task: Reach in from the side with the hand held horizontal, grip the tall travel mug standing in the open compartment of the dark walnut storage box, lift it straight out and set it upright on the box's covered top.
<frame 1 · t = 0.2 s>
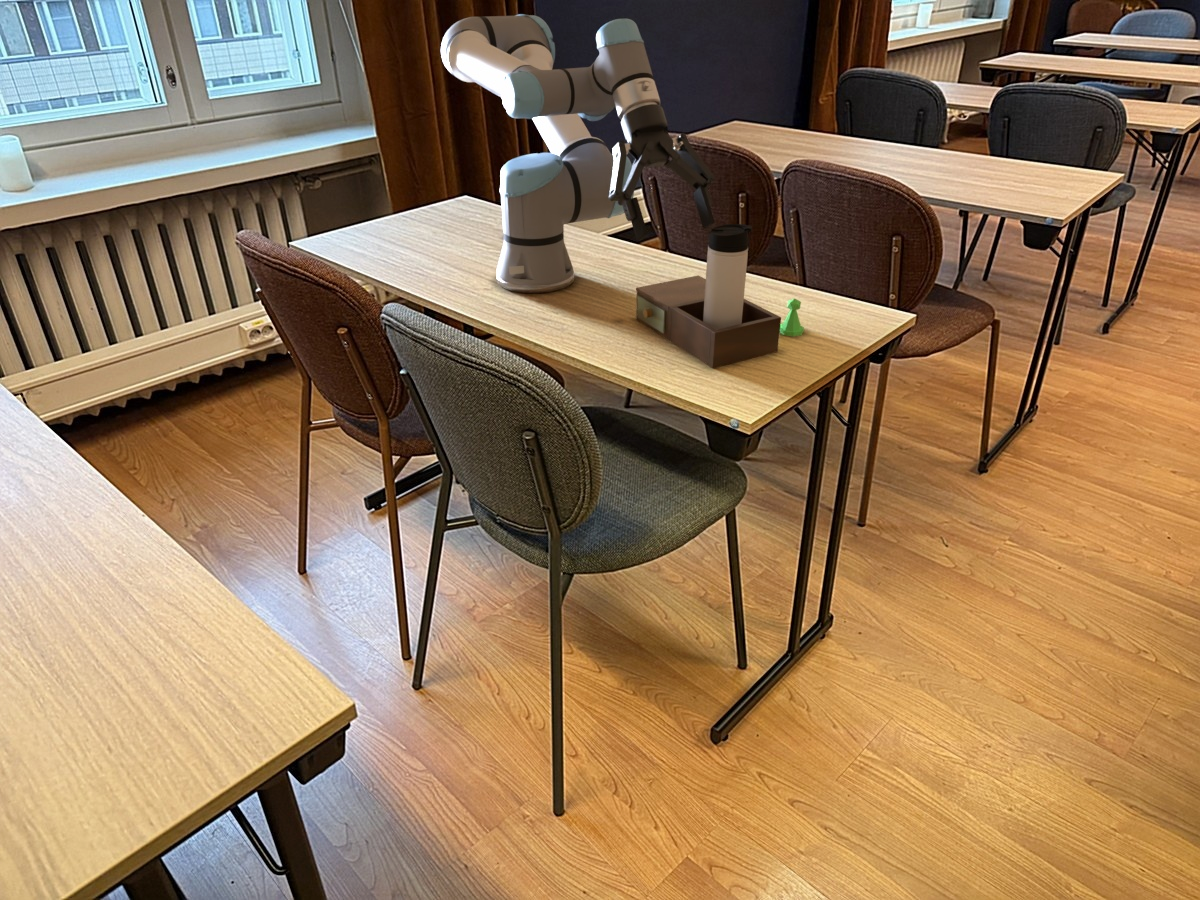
hand: (676, 232, 145), 15 cm above the table, tool tilted 35°, fingers open, 13 cm apart
travel mug: (721, 346, 141), resting in storage box
storage box: (705, 336, 144), on the table
game piece: (790, 332, 146), on the table
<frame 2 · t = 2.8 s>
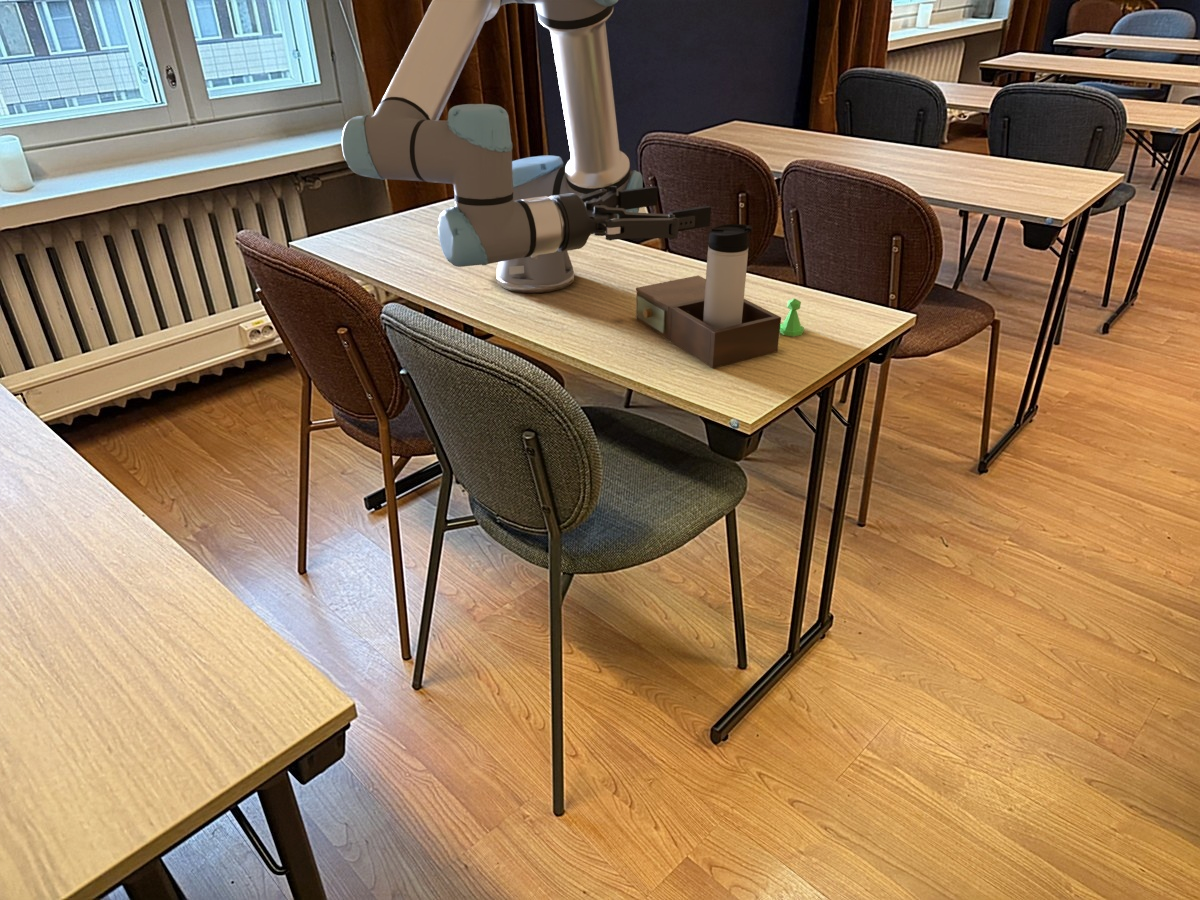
hand: (681, 205, 125), 24 cm above the table, tool horizontal, fingers open, 13 cm apart
nothing on the table moved.
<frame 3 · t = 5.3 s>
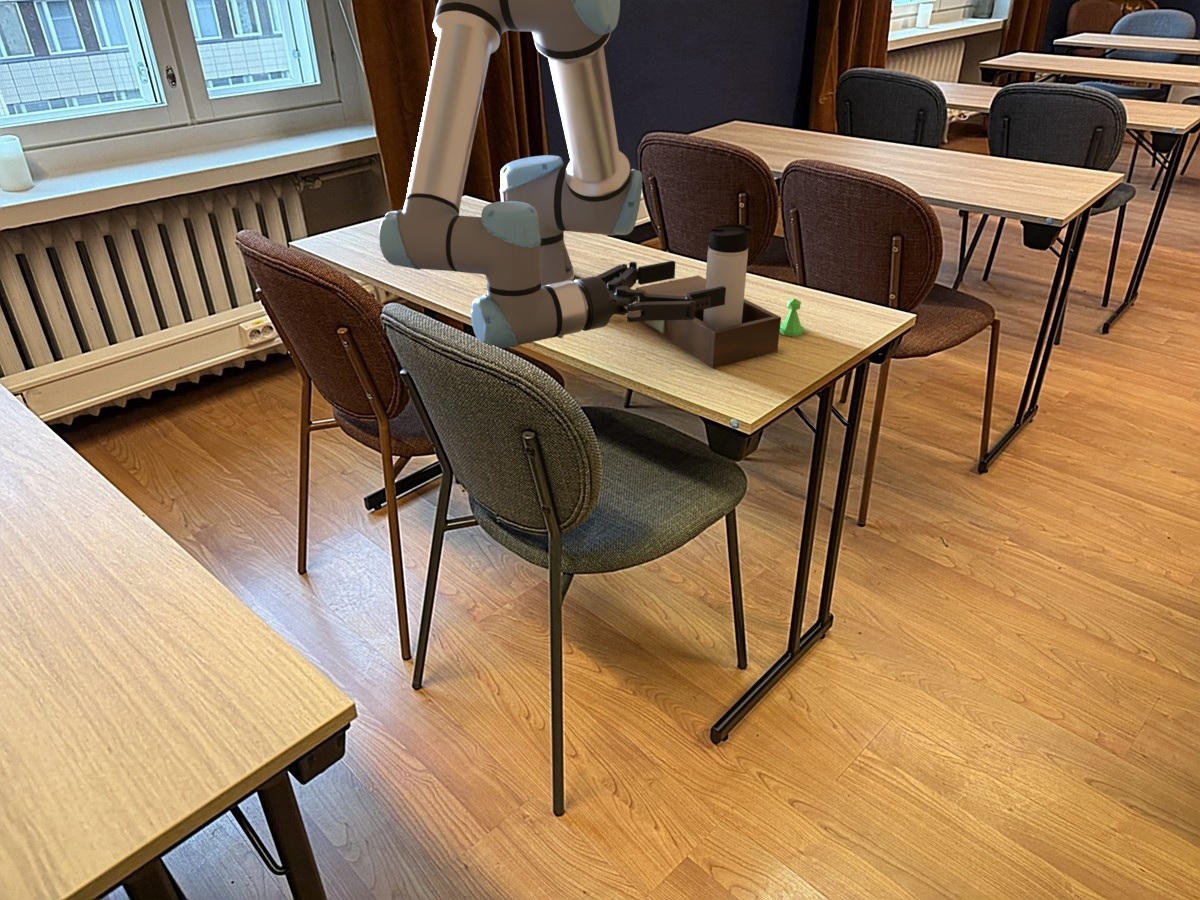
hand: (698, 281, 132), 12 cm above the table, tool horizontal, fingers open, 13 cm apart
nothing on the table moved.
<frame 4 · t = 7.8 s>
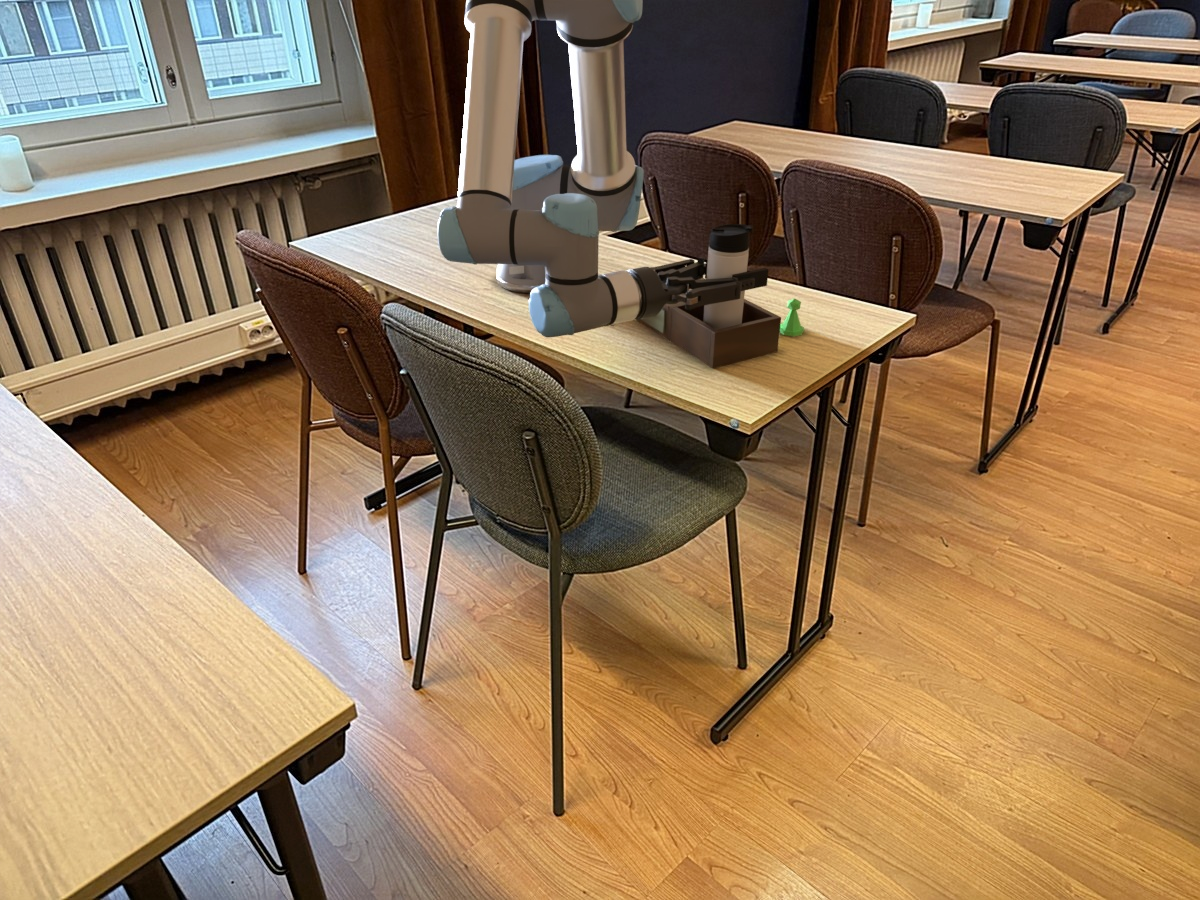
hand: (752, 270, 137), 12 cm above the table, tool horizontal, fingers closed on travel mug, 6 cm apart
travel mug: (721, 346, 141), resting in storage box, touching gripper
everything else where it was.
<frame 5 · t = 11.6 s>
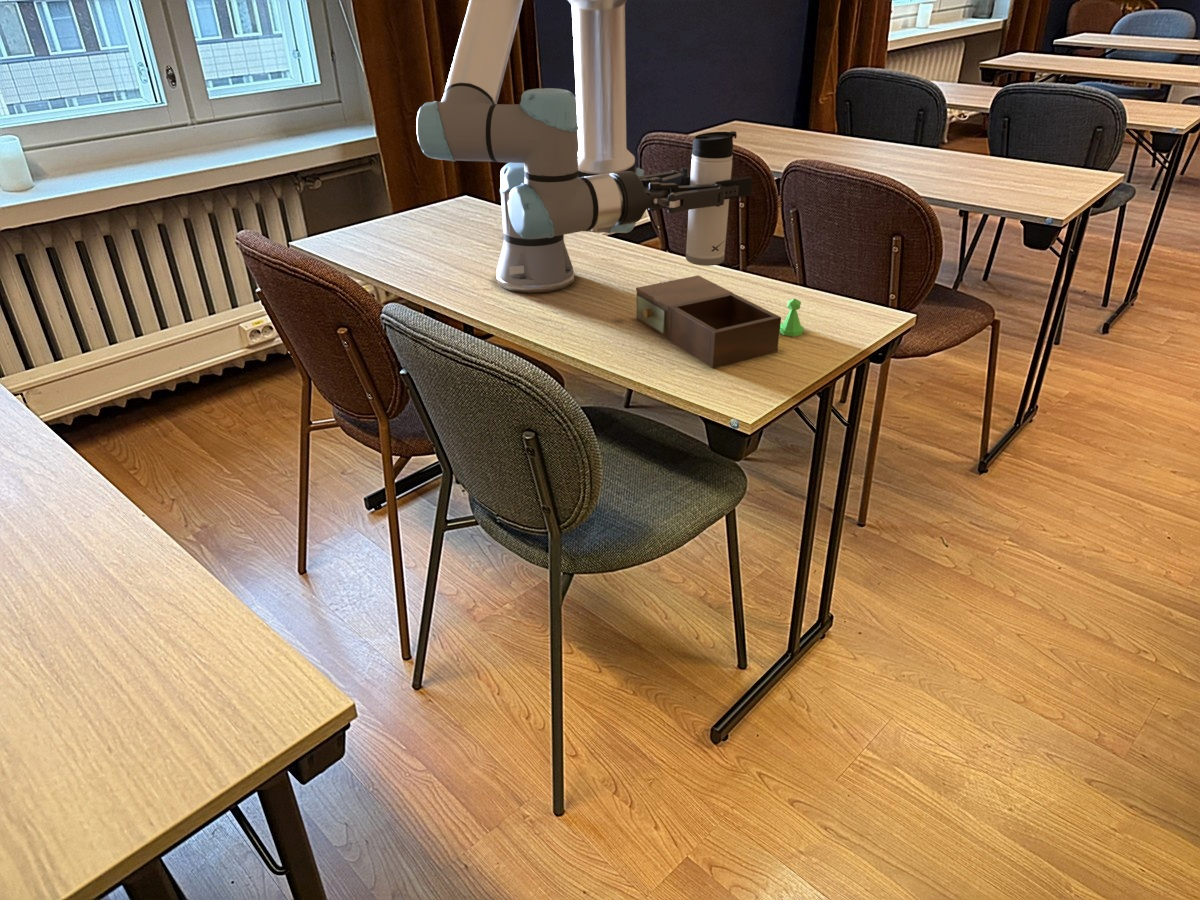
hand: (736, 181, 135), 25 cm above the table, tool horizontal, fingers closed on travel mug, 6 cm apart
travel mug: (705, 261, 139), point 13 cm above the table, touching gripper
everything else where it was.
when the fingers open (18 cm above the table, at t = 15.3 s): travel mug stays where it is, resting on storage box.
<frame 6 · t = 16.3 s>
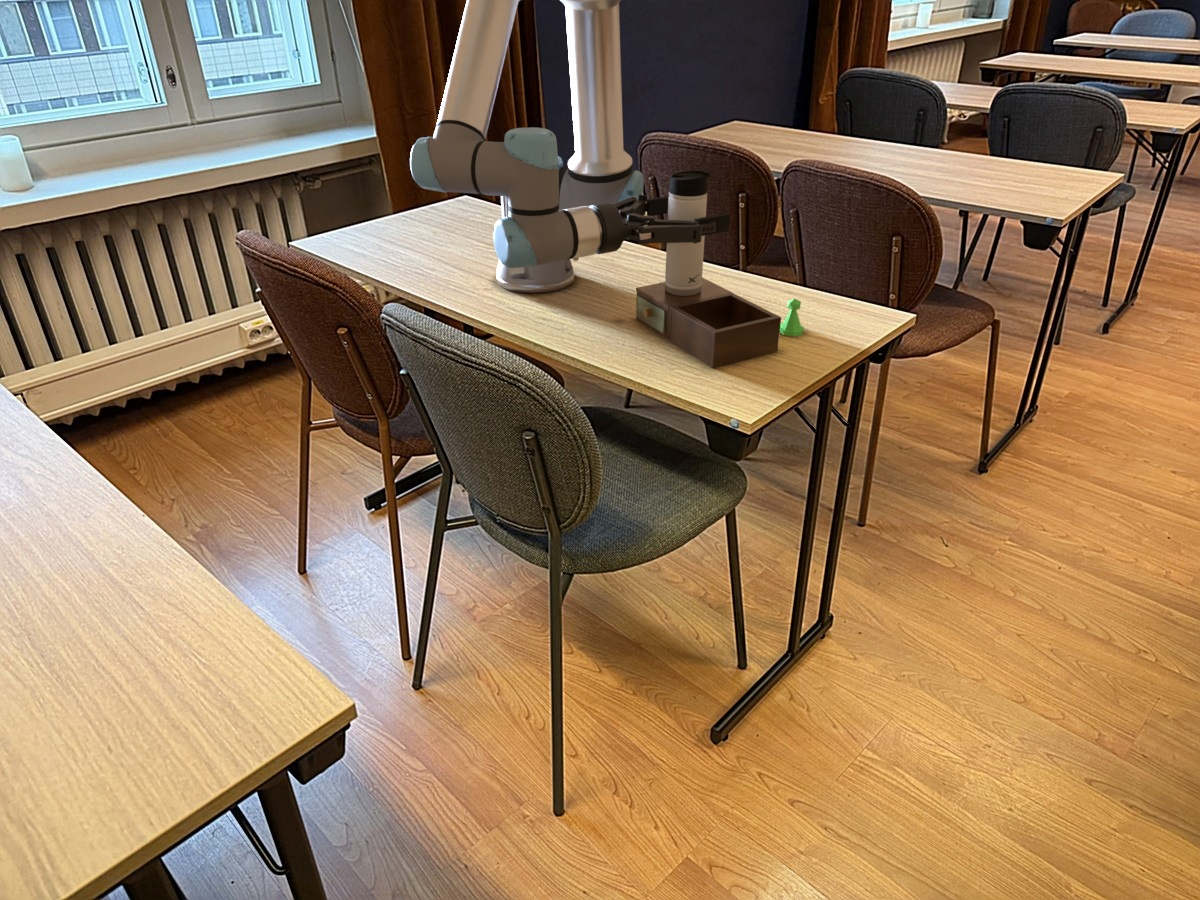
hand: (703, 212, 141), 19 cm above the table, tool horizontal, fingers open, 13 cm apart
travel mug: (683, 291, 147), point 6 cm above the table, touching storage box
everything else where it was.
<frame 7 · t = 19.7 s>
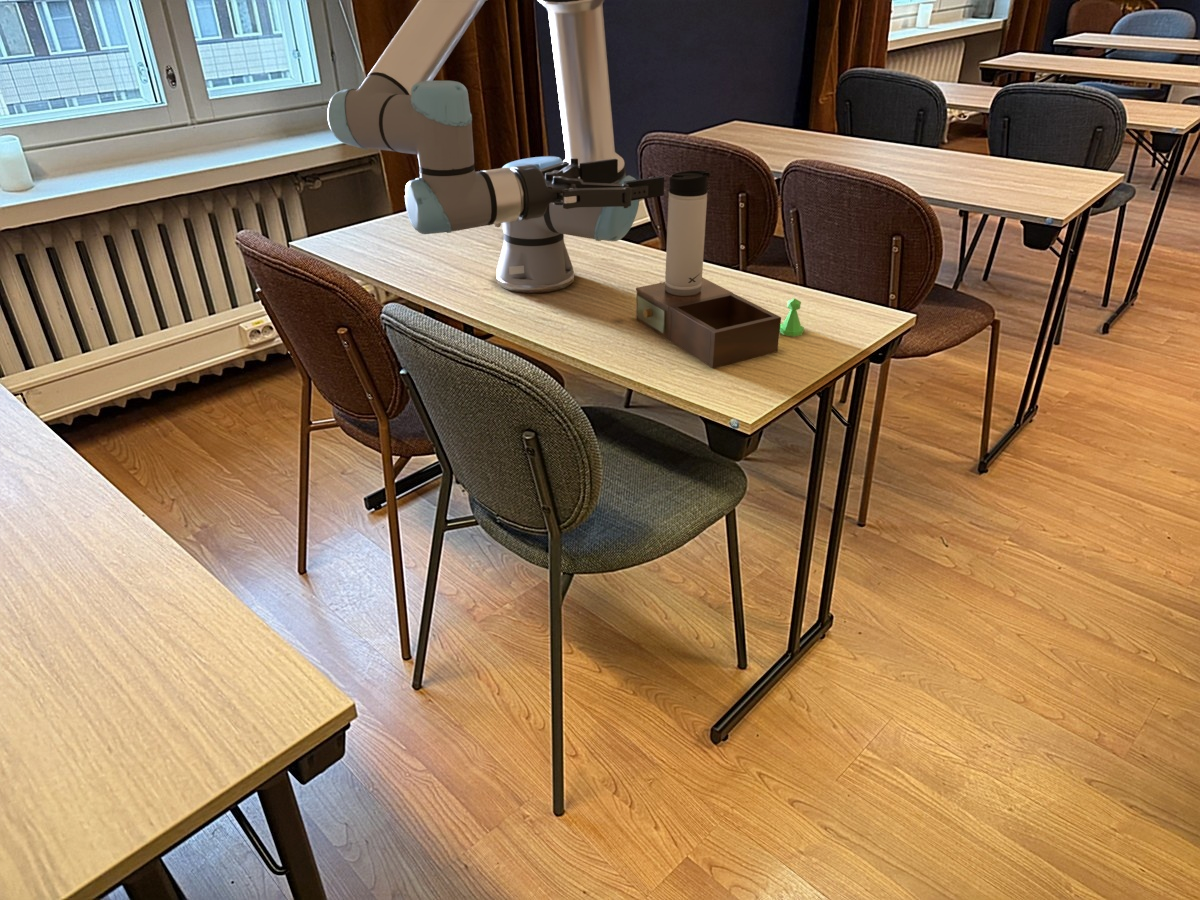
hand: (638, 176, 132), 26 cm above the table, tool horizontal, fingers open, 13 cm apart
nothing on the table moved.
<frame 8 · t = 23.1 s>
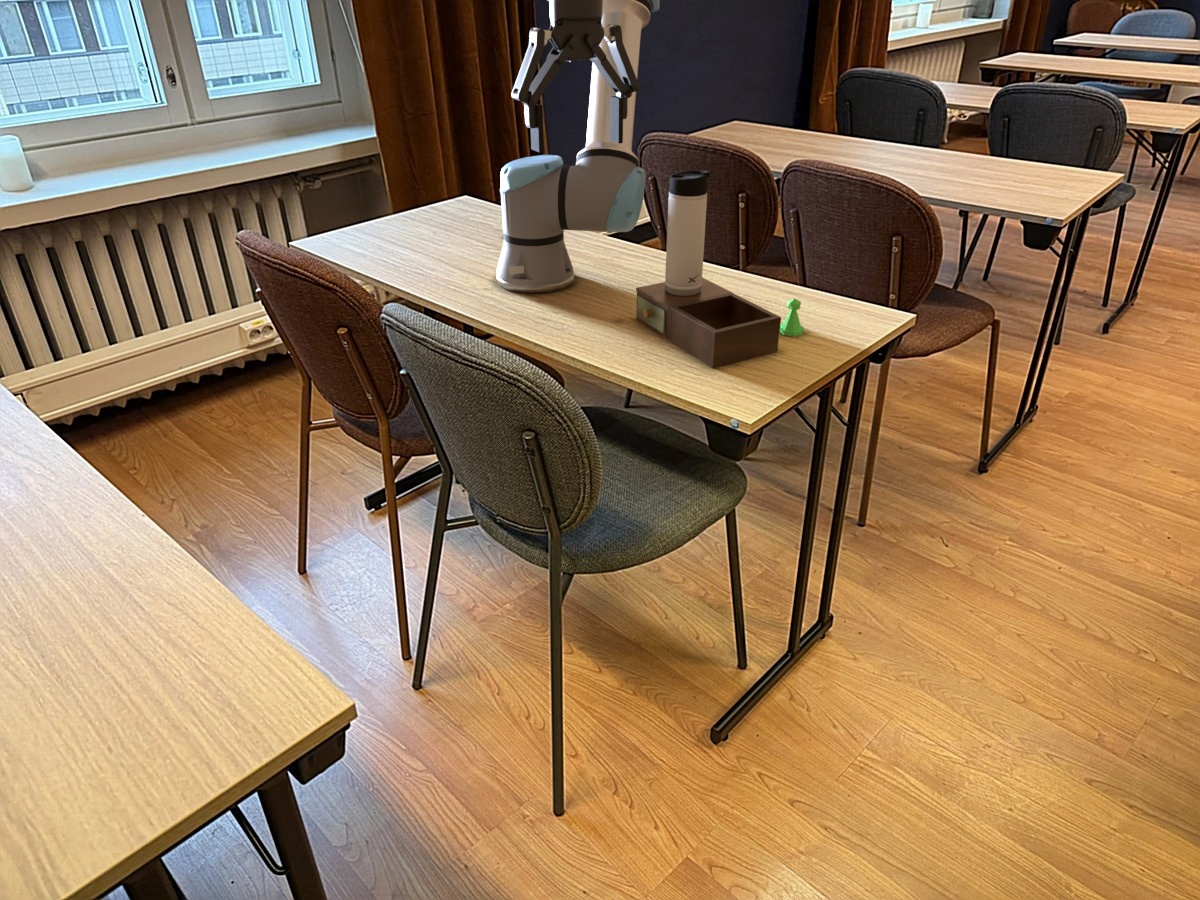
hand: (577, 146, 130), 31 cm above the table, tool pointing down, fingers open, 13 cm apart
nothing on the table moved.
at the end: travel mug inside the target area on the storage box (0.1 cm from its centre), point 5.8 cm above the storage box's base; travel mug tilted 0°; the gripper is holding nothing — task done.
